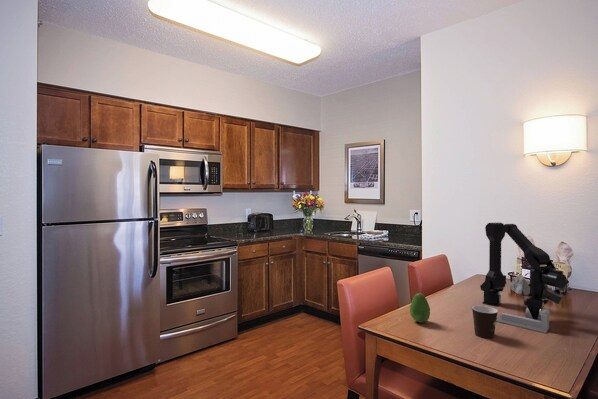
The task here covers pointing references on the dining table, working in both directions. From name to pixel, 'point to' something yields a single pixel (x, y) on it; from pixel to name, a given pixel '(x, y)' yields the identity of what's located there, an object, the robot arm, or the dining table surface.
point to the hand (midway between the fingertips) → (537, 318)
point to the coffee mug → (484, 321)
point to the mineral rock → (520, 285)
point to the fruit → (420, 308)
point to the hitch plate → (527, 321)
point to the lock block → (528, 315)
